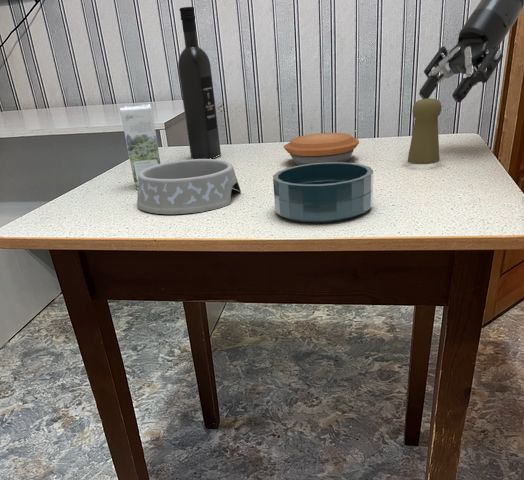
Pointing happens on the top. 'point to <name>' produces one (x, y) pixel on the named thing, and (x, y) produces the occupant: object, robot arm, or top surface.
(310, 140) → the pie
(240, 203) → the top surface
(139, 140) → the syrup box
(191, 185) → the dog bowl
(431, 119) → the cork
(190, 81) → the wine bottle
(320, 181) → the bowl
